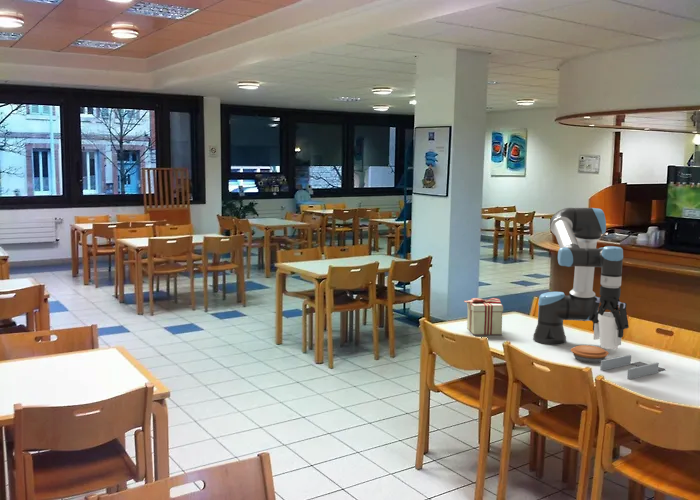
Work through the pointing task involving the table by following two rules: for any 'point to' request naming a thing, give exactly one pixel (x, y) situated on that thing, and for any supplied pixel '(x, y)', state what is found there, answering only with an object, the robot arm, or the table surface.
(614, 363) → the channel
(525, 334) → the table surface
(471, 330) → the gift box
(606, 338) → the foam cup
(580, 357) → the pie
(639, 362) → the trap mat
